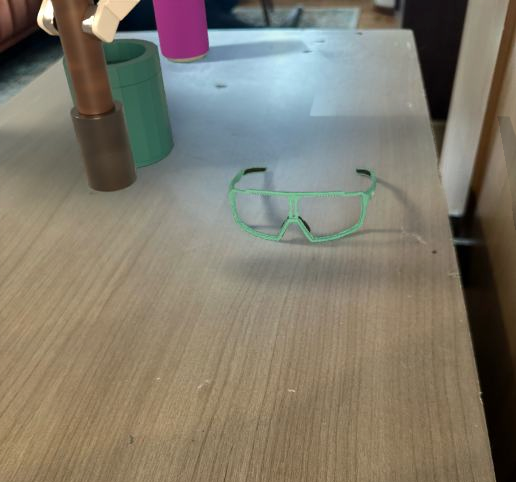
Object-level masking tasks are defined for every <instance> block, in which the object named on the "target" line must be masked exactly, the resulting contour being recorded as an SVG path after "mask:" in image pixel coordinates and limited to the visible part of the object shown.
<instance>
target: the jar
mask: <svg viewBox="0 0 516 482" xmlns="http://www.w3.org/2000/svg"><path fill="white" fill-rule="evenodd" d="M102 45H103V49H104V54H105V59H106V64H107V69H108V74H109V78H110V83H111V88H112V93H113V98H114V99H115V100H118V101H120V102H121V103H122V104H123V107H124V112H125V117H126V122H127V127H128V132H129V137H130V142H131V147H132V152H133V157H134V163H135V168H136V169H138V168H143V167H147V166H150V165H153V164H155V163H158V162H159V161H161V160H163V159H165V158H166V157H168V156H169V155H170V154H171V152H172V151H173V149H174V141H173V133H172V126H171V120H170V113H169V107H168V100H167V95H166V89H165V83H164V76H163V70H162V63H161V57H160V50H159V45H158V44H156V43H154V41H150V40H147V39H143V38H141V39H140V38H114V39H113V41H112V42H110V43H109V42H102ZM61 63H62V65H63V70H64V73H65V77H66V80H67V81H66V82H67V85H68V89H69V94H70V97H71V100H72V106H73V107H74V106H76V101H75V97H74V92H73V88H72V84H71V80H70V76H69V72H68V68H67V64H66V60H65V56H64V55H63V57H62V62H61Z"/></svg>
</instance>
